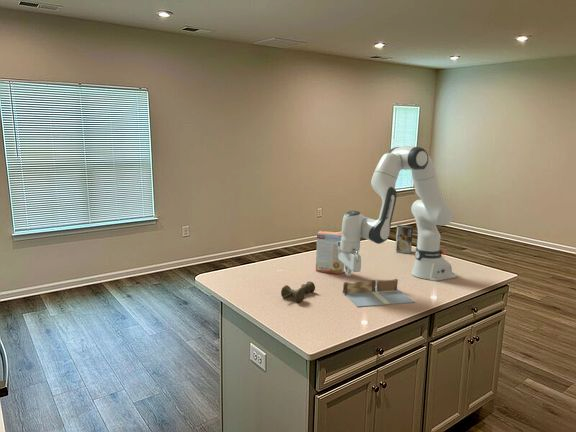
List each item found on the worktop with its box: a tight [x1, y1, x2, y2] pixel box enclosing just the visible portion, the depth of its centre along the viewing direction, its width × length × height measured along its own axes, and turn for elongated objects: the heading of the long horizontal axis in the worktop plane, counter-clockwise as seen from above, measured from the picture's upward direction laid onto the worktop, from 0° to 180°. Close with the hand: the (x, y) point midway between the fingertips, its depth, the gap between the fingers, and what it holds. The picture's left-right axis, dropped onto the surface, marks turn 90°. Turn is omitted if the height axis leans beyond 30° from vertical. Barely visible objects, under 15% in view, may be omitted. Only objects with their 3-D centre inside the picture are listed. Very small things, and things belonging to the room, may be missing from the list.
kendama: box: [280, 281, 316, 304], centre depth 193 cm, size 6×10×20 cm
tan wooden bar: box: [342, 279, 377, 294], centre depth 199 cm, size 16×2×5 cm, turn 104°
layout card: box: [341, 278, 416, 308], centre depth 196 cm, size 27×18×6 cm, turn 104°
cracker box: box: [315, 230, 345, 275], centre depth 228 cm, size 14×6×21 cm, turn 71°
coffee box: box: [394, 224, 414, 254], centre depth 269 cm, size 9×6×16 cm
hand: (347, 275), depth 204 cm, fingers closed
